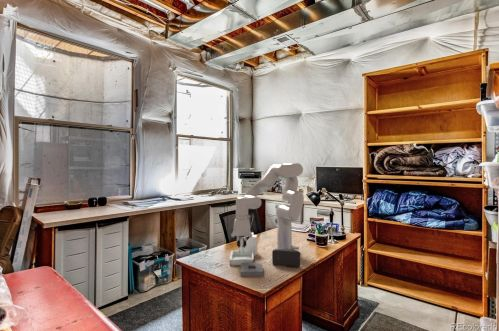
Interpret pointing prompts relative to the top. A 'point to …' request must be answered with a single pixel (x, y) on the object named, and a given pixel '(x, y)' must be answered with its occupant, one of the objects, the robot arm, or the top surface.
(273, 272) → the top surface
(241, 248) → the pin
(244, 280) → the top surface
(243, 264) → the grey square hole plate
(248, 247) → the corner bracket
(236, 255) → the parts tray
